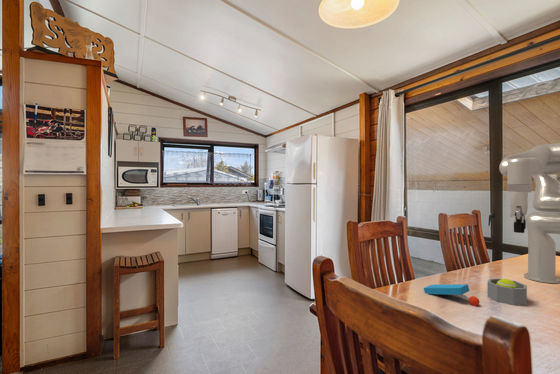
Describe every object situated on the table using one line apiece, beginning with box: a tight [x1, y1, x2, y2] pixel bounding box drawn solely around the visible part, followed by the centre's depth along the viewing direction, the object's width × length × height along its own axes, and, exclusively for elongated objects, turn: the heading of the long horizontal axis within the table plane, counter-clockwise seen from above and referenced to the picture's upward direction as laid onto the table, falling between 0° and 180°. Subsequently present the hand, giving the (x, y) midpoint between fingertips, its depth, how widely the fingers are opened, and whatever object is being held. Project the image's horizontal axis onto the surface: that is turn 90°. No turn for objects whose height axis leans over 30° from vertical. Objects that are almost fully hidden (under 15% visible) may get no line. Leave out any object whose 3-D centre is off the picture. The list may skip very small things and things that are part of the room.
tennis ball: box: [496, 278, 518, 288], centre depth 111 cm, size 7×7×7 cm
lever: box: [423, 283, 481, 307], centre depth 111 cm, size 7×7×18 cm
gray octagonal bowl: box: [487, 278, 528, 306], centre depth 111 cm, size 12×12×6 cm
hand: (519, 230), depth 116 cm, fingers open, 9 cm apart
